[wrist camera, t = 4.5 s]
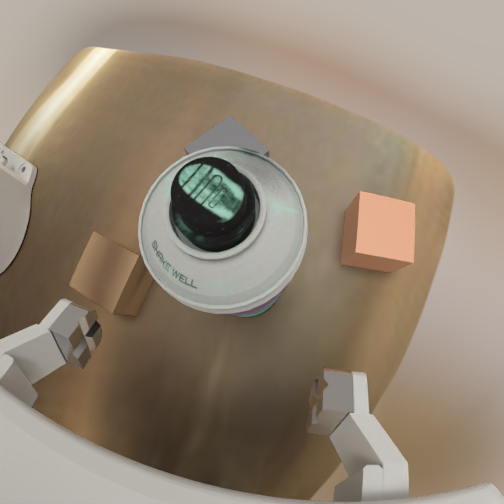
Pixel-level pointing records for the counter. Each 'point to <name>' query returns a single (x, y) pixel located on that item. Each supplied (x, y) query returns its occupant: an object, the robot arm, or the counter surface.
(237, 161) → the spray can
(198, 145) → the charcoal block
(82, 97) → the counter surface
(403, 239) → the terracotta block
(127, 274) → the walnut block
